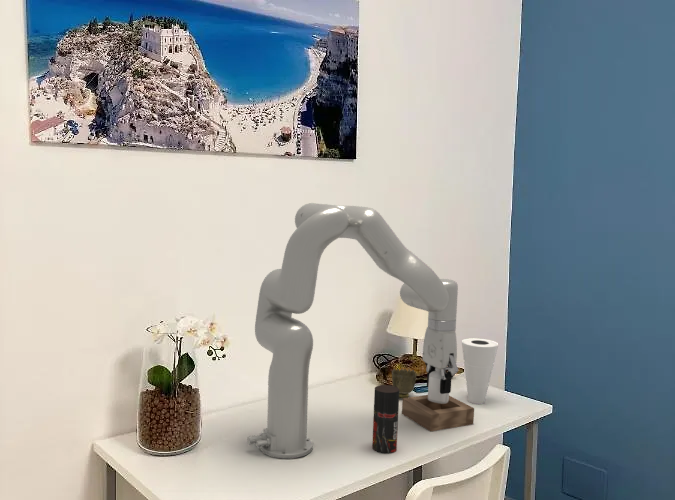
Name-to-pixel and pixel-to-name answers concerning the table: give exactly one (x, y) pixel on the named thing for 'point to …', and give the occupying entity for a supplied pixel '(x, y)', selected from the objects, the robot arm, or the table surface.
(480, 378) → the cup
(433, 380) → the eye dropper bottle
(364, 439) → the table surface
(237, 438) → the table surface
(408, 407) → the socket
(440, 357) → the robot arm
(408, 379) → the cup
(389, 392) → the deodorant
